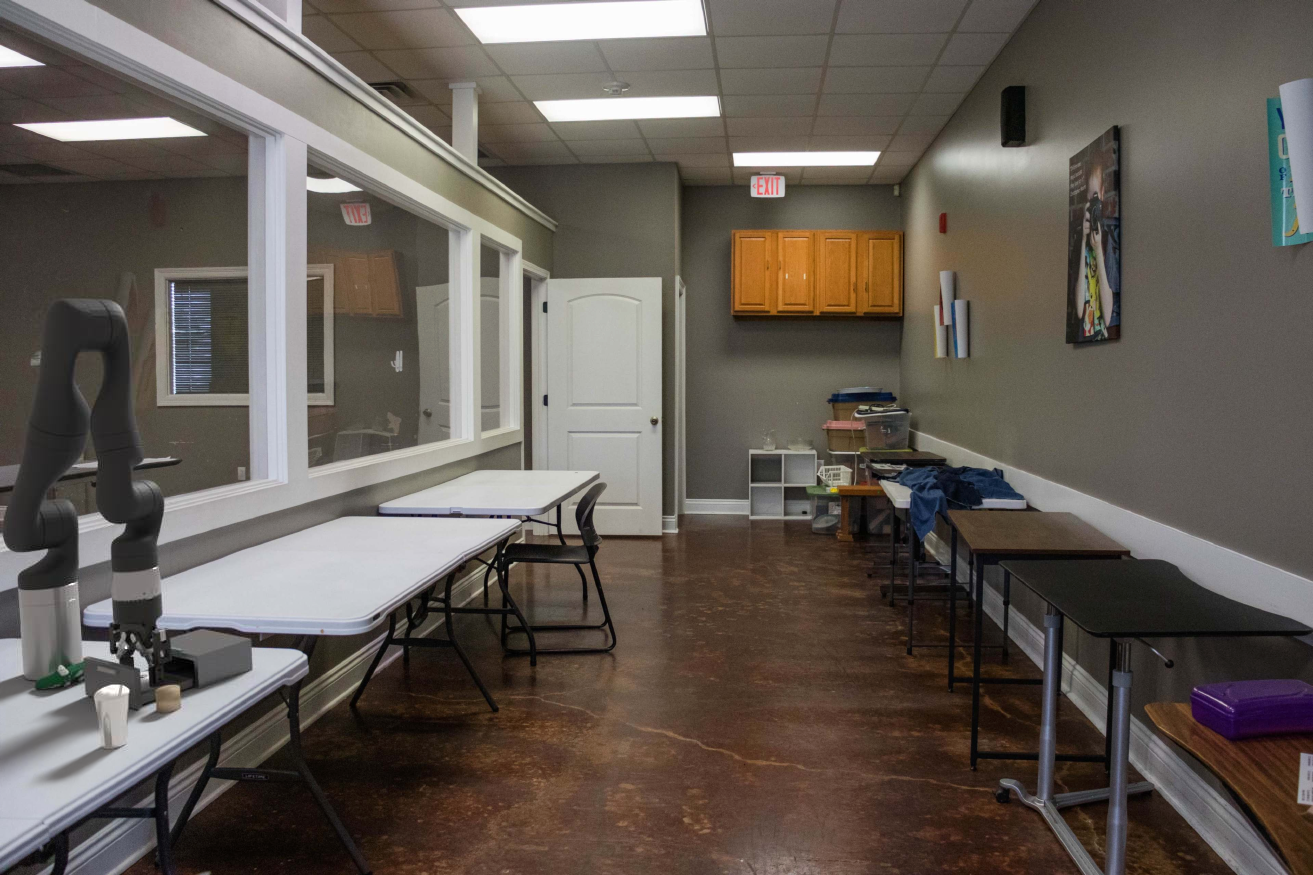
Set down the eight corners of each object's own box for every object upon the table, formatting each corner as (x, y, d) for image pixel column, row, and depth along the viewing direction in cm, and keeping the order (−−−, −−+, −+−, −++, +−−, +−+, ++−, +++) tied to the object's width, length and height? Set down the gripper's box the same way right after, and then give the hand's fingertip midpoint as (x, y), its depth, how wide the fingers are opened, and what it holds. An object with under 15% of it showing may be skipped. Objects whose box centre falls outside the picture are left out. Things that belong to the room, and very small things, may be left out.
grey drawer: (147, 674, 159) (145, 640, 158) (197, 687, 152) (195, 651, 152) (83, 695, 149) (80, 658, 148) (133, 710, 142) (131, 671, 141)
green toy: (43, 701, 152) (60, 680, 151) (30, 685, 153) (48, 664, 151) (89, 683, 161) (105, 663, 160) (77, 668, 162) (93, 648, 160)
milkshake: (109, 754, 126) (105, 689, 125) (91, 746, 129) (87, 683, 128) (140, 743, 130) (137, 680, 129) (123, 735, 132) (119, 673, 132)
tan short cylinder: (151, 710, 142) (150, 690, 142) (172, 703, 146) (171, 683, 145) (165, 714, 141) (163, 694, 140) (185, 706, 144) (184, 686, 144)
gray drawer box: (203, 658, 169) (201, 627, 168) (252, 669, 162) (251, 637, 162) (148, 675, 159) (147, 643, 159) (199, 688, 152) (197, 654, 152)
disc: (114, 690, 149) (114, 679, 149) (148, 679, 155) (147, 668, 155) (135, 696, 147) (134, 684, 146) (168, 684, 152) (168, 673, 152)
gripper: (91, 593, 149) (96, 682, 150) (140, 602, 143) (145, 696, 144) (133, 584, 156) (138, 669, 157) (182, 592, 149) (187, 681, 151)
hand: (142, 682), depth 151 cm, fingers open, 8 cm apart
